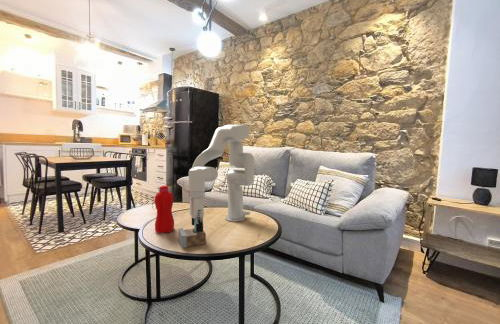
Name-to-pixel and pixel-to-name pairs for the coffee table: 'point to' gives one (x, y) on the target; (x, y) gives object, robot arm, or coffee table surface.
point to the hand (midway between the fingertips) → (197, 228)
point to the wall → (182, 238)
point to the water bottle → (164, 210)
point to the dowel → (195, 225)
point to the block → (195, 237)
